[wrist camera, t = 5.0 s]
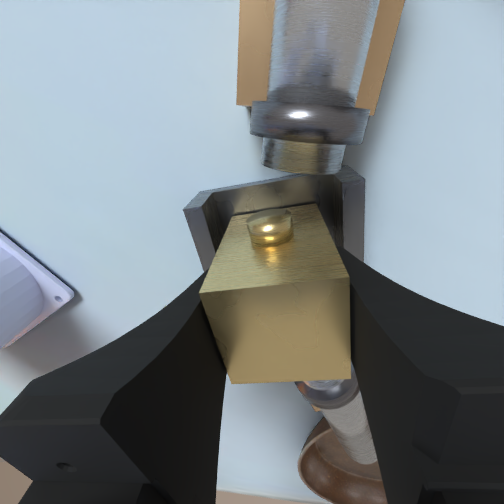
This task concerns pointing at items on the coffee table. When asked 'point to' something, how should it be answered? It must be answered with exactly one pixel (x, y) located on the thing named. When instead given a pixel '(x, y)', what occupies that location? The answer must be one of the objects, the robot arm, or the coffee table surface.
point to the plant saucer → (338, 471)
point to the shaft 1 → (312, 76)
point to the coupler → (279, 299)
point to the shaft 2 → (343, 414)
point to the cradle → (278, 197)
